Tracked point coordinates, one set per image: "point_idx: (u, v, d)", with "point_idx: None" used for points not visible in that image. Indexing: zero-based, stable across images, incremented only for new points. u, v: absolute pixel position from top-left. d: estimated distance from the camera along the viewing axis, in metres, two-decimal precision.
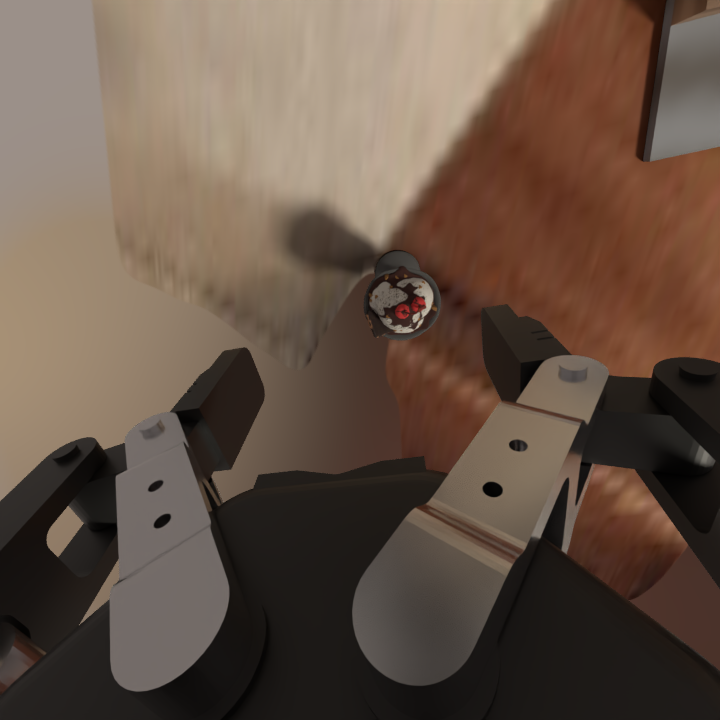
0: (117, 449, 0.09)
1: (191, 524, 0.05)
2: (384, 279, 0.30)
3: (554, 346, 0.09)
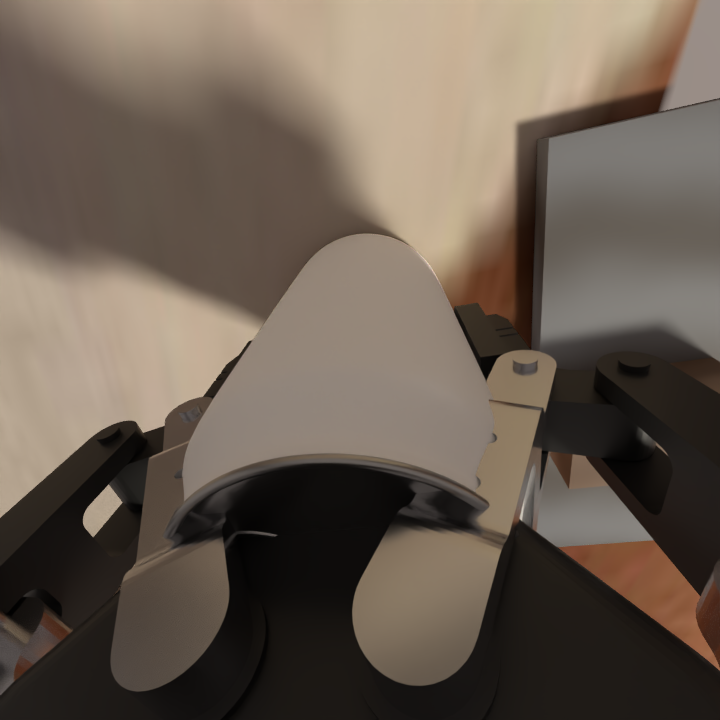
0: (155, 433, 0.09)
1: (207, 518, 0.05)
2: None
3: (516, 342, 0.10)
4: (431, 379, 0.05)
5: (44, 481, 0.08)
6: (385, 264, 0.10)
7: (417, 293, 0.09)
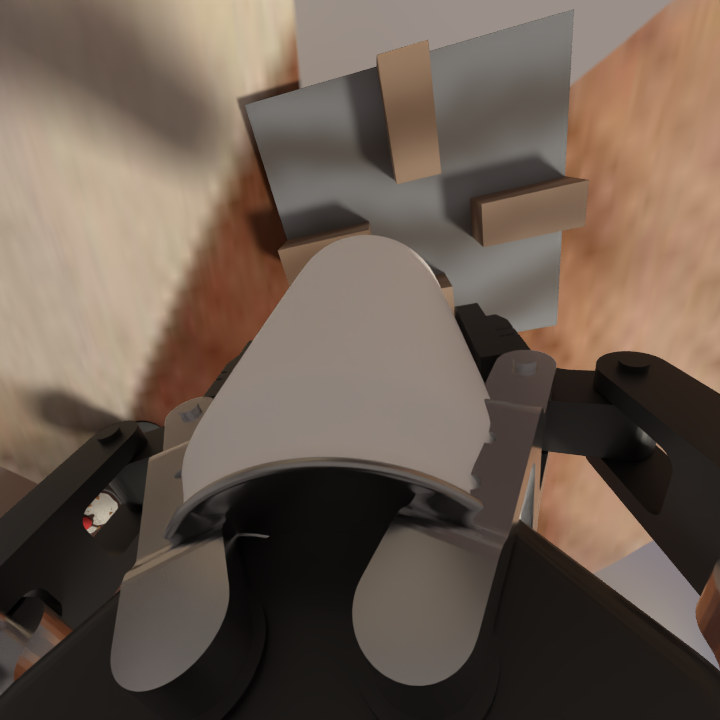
0: (155, 433, 0.09)
1: (207, 518, 0.05)
2: None
3: (516, 342, 0.10)
4: (429, 383, 0.05)
5: (44, 481, 0.08)
6: (384, 266, 0.10)
7: (415, 295, 0.09)
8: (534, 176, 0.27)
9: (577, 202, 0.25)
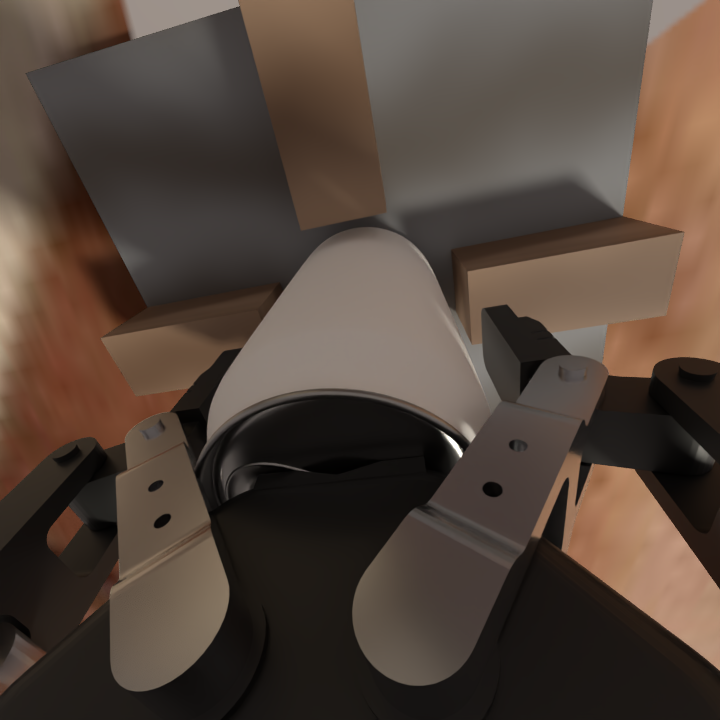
0: (117, 449, 0.09)
1: (191, 524, 0.05)
2: None
3: (554, 346, 0.09)
4: (412, 338, 0.07)
5: None
6: (381, 252, 0.11)
7: (407, 276, 0.10)
8: (566, 215, 0.15)
9: (656, 273, 0.13)
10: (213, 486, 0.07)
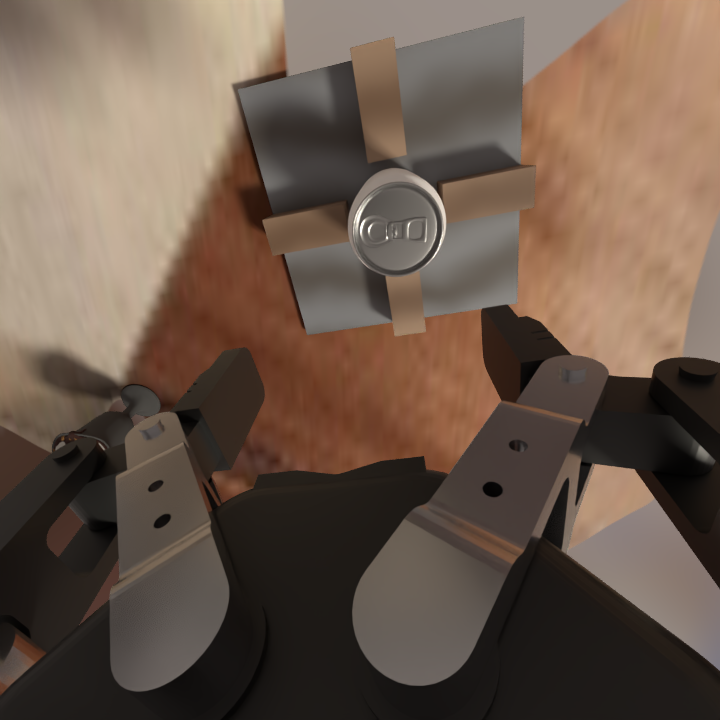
0: (116, 449, 0.09)
1: (191, 524, 0.05)
2: (62, 439, 0.36)
3: (554, 346, 0.09)
4: (419, 177, 0.22)
5: None
6: None
7: None
8: (493, 163, 0.30)
9: (527, 185, 0.28)
10: (355, 227, 0.22)
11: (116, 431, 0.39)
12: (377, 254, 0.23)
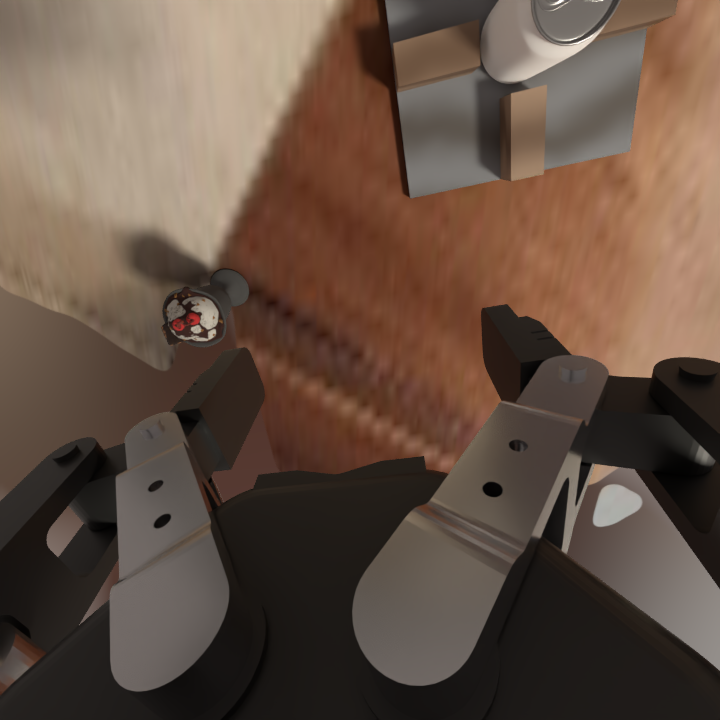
0: (117, 449, 0.09)
1: (191, 524, 0.05)
2: (174, 297, 0.37)
3: (554, 346, 0.09)
4: None
5: None
6: None
7: None
8: None
9: None
10: None
11: (220, 298, 0.39)
12: (550, 19, 0.23)
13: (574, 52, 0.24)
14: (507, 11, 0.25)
